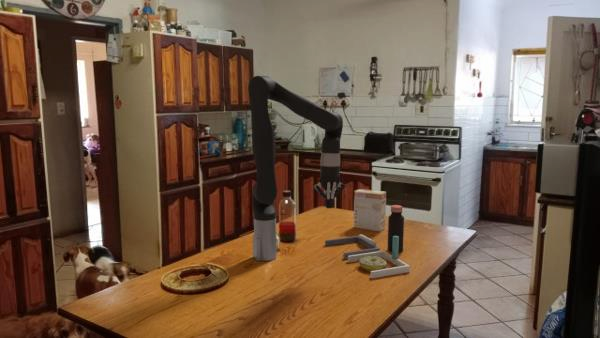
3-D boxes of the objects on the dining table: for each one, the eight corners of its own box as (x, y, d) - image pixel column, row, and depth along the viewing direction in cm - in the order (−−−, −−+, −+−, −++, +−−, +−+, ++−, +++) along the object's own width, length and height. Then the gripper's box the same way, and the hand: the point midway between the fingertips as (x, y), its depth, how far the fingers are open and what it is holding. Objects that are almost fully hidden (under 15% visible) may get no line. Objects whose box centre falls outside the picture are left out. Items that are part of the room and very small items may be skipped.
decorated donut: (391, 268, 183) (392, 259, 183) (374, 275, 176) (375, 266, 175) (371, 261, 191) (371, 252, 190) (354, 267, 184) (354, 258, 183)
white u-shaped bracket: (371, 278, 172) (372, 249, 171) (347, 261, 190) (348, 234, 188) (411, 271, 179) (412, 243, 177) (384, 255, 196) (385, 229, 195)
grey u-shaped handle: (344, 259, 193) (344, 248, 192) (325, 245, 210) (325, 236, 209) (380, 253, 199) (380, 243, 198) (358, 240, 216) (359, 231, 216)
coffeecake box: (385, 228, 236) (386, 191, 233) (380, 232, 230) (381, 194, 227) (359, 224, 244) (359, 188, 241) (353, 227, 238) (353, 190, 235)
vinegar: (386, 251, 202) (387, 207, 198) (389, 246, 208) (390, 203, 205) (401, 253, 199) (403, 208, 196) (404, 248, 205) (405, 205, 202)
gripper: (341, 162, 183) (339, 204, 186) (310, 163, 179) (309, 206, 181) (350, 165, 176) (348, 209, 179) (318, 166, 172) (316, 211, 174)
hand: (328, 207), depth 180 cm, fingers closed
